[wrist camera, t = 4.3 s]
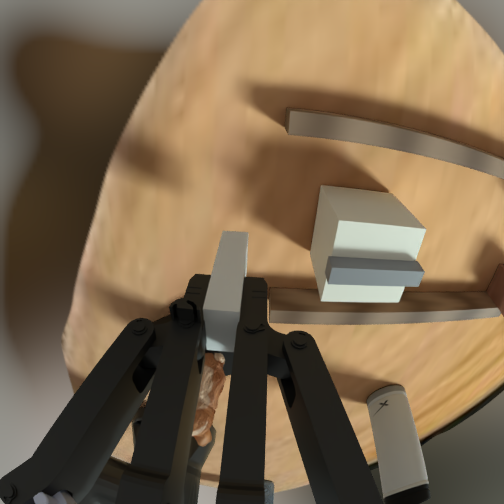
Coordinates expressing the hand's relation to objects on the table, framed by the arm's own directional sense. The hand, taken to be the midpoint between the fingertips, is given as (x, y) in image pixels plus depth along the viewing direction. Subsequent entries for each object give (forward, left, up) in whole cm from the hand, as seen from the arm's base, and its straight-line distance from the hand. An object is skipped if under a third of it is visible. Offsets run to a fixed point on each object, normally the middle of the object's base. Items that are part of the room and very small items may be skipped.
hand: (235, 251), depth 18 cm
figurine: (-3, -15, -6) cm, 17 cm away
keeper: (+9, 0, -6) cm, 11 cm away
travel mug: (+22, -28, -6) cm, 36 cm away
